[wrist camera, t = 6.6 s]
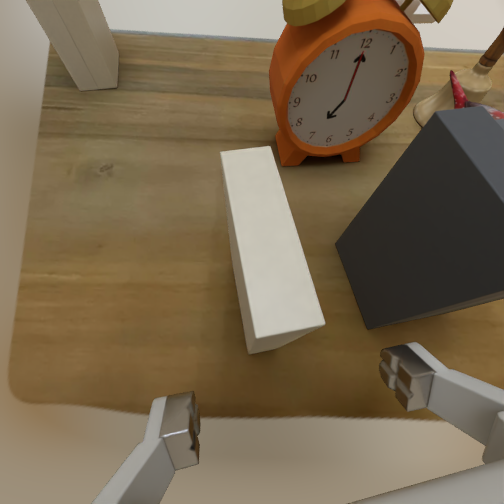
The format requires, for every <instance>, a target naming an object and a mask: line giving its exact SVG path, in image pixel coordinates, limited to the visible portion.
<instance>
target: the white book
mask: <svg viewBox="0 0 504 504" xmlns="http://www.w3.org/2000/svg"><path fill="white" fill-rule="evenodd" d="M220 157H221V166H222V175H223V184H224V193H225V202H226V211H227V221H228V230H229V239H230V248H231V257H232V264H233V270H234V276H235V281H236V287H237V293H238V299H239V304H240V310H241V316H242V322H243V327H244V333H245V339H246V345H247V350H248V354H254V353H259V352H264V351H268V350H273V349H277V348H279V347H281V346H283V345H285V344H287V343H289V342H291V341H293V340H295V339H297V338H299V337H302V336H304V335H306V334H308V333H310V332H312V331H314V330H316V329H318V328H320V327H322V326H324V325H325V320H324V317H323V314H322V311H321V307H320V304H319V301H318V298H317V295H316V291H315V288H314V285H313V282H312V278H311V275H310V272H309V269H308V266H307V262H306V259H305V256H304V253H303V249H302V246H301V243H300V240H299V237H298V233H297V230H296V227H295V224H294V220H293V217H292V214H291V211H290V208H289V204H288V201H287V198H286V195H285V191H284V188H283V185H282V182H281V179H280V175H279V172H278V169H277V166H276V162H275V159H274V156H273V153H272V150H271V147H270V146H266V147H257V148H248V149H240V150H231V151H223V152H220Z"/></svg>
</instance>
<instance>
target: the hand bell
mask: <svg viewBox="0 0 504 504" xmlns="http://www.w3.org/2000/svg"><path fill="white" fill-rule="evenodd" d="M503 53H504V28H503V30H502V31H501V33H500V34H499V36H498V37H497V38H496V40H495V41H494V42H493V43H492V45H491V46H490V47H489V48H488V50H487V51H486V52H485V54H484V55H483V56H482V57H481V58H480V60H479V62H478V63H477V64H476V65H475V66H474V67H473V68H472V69H463V70H460V71H458V72H457V73H455V75H456V77H457V79H458V81H459V84H460V85H461V87H462V89H463V91H464V94H465V95H466V97H467V99H468V100H469V101H471V102H476V103H479V104H480V102H481V101H482V99H483V98H484V96H485V95H486V93H487V92H488V91H489V89H490V88H491V86H492V81H491V79H490V78H489V77H488V72H489V71H490V70H491V69H492V67H493V65H495V63H496V62H497V60H498V59H499V58H500V57H501V55H502V54H503ZM450 109H454V97H453V92H452V87H451V80H449V81H448V83H447V84H446V85H445V86H444V87H443V88H442V89H441V90H440V91H439V92H437V93H436V94H435V95H433V96H431V97H429V98H426V99H424V100H422V101H420V102H419V103H418V104H417V105H416V106H415V108H414V117H415V119H416V120H417V122H418V123H419V124H420V125H421V126H422V127H424V125H425V124H426V123H427V121H428V120H429V119H430V117H431V116H432V115H433V113H434V112H435V111H440V110H450Z"/></svg>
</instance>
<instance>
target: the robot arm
mask: <svg viewBox="0 0 504 504" xmlns="http://www.w3.org/2000/svg"><path fill="white" fill-rule="evenodd" d="M380 357H381V358H382V359H383V360H382V361H381V363H380V364H379V371H380V375H381V378H382V379H383V381H384V383H385V384H386V385H387V387H388V388H390V389H392V390H394V391H395V396H396V398H397V399H398V401H399V402H400V403H401V404H402V406H403V407H404V408H405V409H406V411H407V412H408V411H413V410H418V409H422V408H427V407H428V408H427V409H429V410H430V411H432V412H433V413H435V414H436V415H438V416H440V417H441V418H443V419H444V420H446V421H447V422H449V423H450V424H452V425H454V426H455V427H457V428H458V429H460V430H461V431H463V432H464V433H466V434H468V435H469V436H471V437H472V438H474V439H476V440H477V441H479V442H480V443H482V444H483V445H485V446H486V447H485V450H484V453H483V456H482V459H483V462H484V463H485V465H481V466H478V467H474V468H471V469H467V470H464V471H460V472H457V473H453V474H450V475H446V476H443V477H439V478H436V479H432V480H429V481H425V482H422V483H418V484H415V485H411V486H408V487H404V488H401V489H398V490H394V491H390V492H387V493H383V494H380V495H376V496H373V497H369V498H366V499H362V500H359V501H355V502H352V503H348V504H504V390H503V389H500V388H498V387H495V386H493V385H490V384H488V383H485V382H483V381H480V380H478V379H476V378H473V377H471V376H468V375H466V374H463V373H461V372H458V371H456V370H454V369H451V370H449V369H448V368H447V367H445V366H444V365H443V364H442V363H441V362H440V361H438V360H437V359H436V358H435V357H434V356H433V355H431V354H430V353H429V352H428V351H427V350H426V349H424V348H423V347H422V346H421V345H420V344H418V343H416V342H412V343H407V344H404V345H398V346H394V347H389V348H385V349H382V350H381V353H380ZM195 399H196V397H195V394H194V391H190V392H185V393H179V394H174V395H169V396H165V397H159V398H155V399H154V401H153V403H152V406H151V410H150V414H149V418H148V422H147V426H146V431H145V434H144V438H143V442H141V443H138V444H137V446H136V447H135V448H134V450H133V451H132V452H131V453H130V455H129V456H128V457H127V459H126V460H125V461H124V462H123V464H122V465H121V466H120V467H119V469H118V470H117V471H116V473H115V474H114V475H113V476H112V478H111V479H110V480H109V481H108V483H107V484H106V485H105V487H104V488H103V489H102V490H101V492H100V493H99V494H98V496H97V497H96V498H95V499H94V501H93V502H92V503H91V504H159V503H160V501H161V499H162V497H163V495H164V494H165V491H166V490H167V488H168V485H169V484H170V482H171V480H172V478H173V476H174V474H175V471H176V470H179V469H183V468H186V467H190V466H193V465H197V464H199V446H200V444H199V441H198V437H197V436H198V435H199V433H200V413H199V408H198V405H197V404H195Z"/></svg>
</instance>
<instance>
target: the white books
mask: <svg viewBox="0 0 504 504" xmlns="http://www.w3.org/2000/svg"><path fill="white" fill-rule="evenodd" d="M26 1H27V3H28V4H29V6H30V8H31V10H32V11H33V13H34V15H35V16H36V18H37V19H38V21H39V23H40V25H41V26H42V28H43V30H44V31H45V33H46V35H47V36H48V38H49V40H50V41H51V43H52V45H53V47H54V48H55V50H56V52H57V53H58V55H59V57H60V58H61V60H62V62H63V63H64V65H65V67H66V68H67V70H68V72H69V73H70V75H71V77H72V78H73V80H74V82H75V83H76V85H77V87H78V88H79V90H80V91H86V90H98V89H108V88H117V83H118V64H119V52H118V49H117V47H116V44H115V42H114V39H113V37H112V34H111V32H110V29H109V27H108V24H107V22H106V19H105V17H104V14H103V12H102V9H101V7H100V4H99V2H98V0H26Z"/></svg>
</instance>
